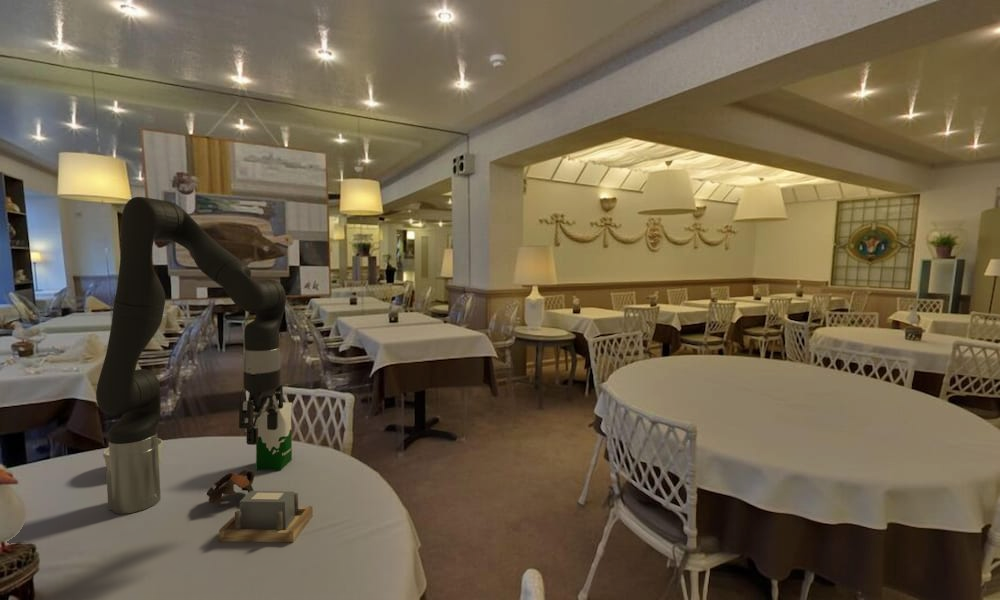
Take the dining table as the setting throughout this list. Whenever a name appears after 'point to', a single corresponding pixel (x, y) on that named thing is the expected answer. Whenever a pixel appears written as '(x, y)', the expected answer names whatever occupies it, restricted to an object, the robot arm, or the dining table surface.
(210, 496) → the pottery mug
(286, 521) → the block
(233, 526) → the pin tray
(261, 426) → the milk carton
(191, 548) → the dining table surface
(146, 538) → the dining table surface
